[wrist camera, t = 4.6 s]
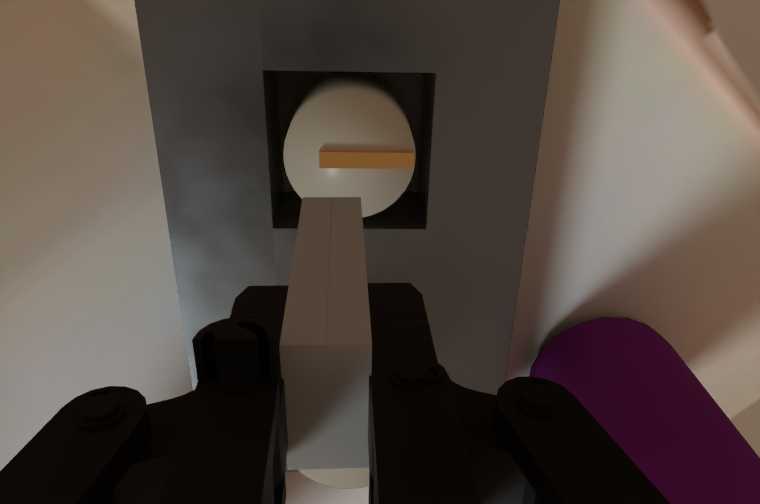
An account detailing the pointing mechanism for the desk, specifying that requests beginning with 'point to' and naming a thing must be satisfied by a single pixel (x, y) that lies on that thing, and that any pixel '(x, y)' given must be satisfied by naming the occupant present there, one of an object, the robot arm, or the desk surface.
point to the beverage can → (653, 410)
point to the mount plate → (412, 209)
